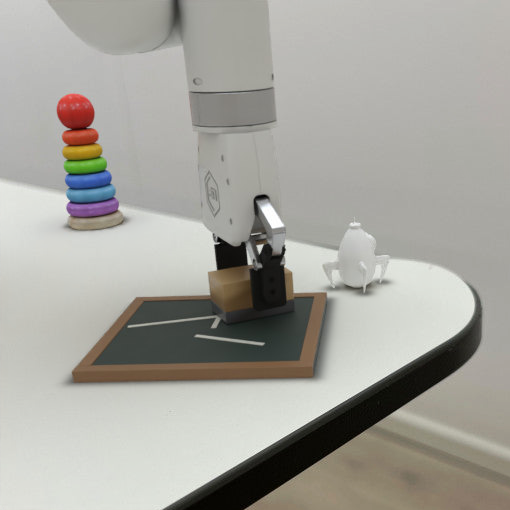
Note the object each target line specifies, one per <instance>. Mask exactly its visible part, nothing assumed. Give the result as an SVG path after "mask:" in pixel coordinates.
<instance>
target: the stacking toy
mask: <svg viewBox="0 0 510 510" xmlns="http://www.w3.org/2000/svg"><path fill="white" fill-rule="evenodd" d="M95 114H96V113H95V107H94V105H93V103H92V102H91V100H90V99H88V97H86V96H85V95H82V94H79V93H68V94H65V95H64V96H62V97H61V98H60V99H59V101H58V102H57V105H56V115H57V118H58V120H59V123H61V125H62V126H63V127H65V128H66V129H67V130H64V131H63V132H62V134H61V139H62V142H63V143H64V144H65V146H64V147H63V148H62V150H61V153H62V157H64V159H66V160H65V161H64V162H63V169H64V171H65V172H66V173H67V174H66V175H65V177H64V182H65V185H66V186H67V189H66V191H65V195H66V199H68V202H67V203H66V205H65V206H66V207H65V210H66V212H67V213H68V214H69V216H68V217H67V225H68V226H69V227H70V228H71V229H73V230H77V231H78V230H79V231H93V230H94V231H95V230H102V229H107V228H111V227H115V226H118V225H120V224H121V223H122V222H123V221H124V214H123V212H122V211H121V210H120V209H119V207H120V201H119V199H118V198H116V197H115V196H116V193H117V191H116V187H115V185H114V184H112V180H113V176H112V173H111V172H110V171H109V170H107V167H108V162H107V160H106V158H105V157H103V156H102V155H103V147H102V146H101V145H100V143H98V141H99V137H100V136H99V134H100V133H99V132H98V130H96V129H95V128H92V127H91V126H92V125H93V122H94V120H95Z"/></svg>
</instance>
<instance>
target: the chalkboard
mask: <svg viewBox="0 0 510 510" xmlns="http://www.w3.org/2000/svg"><path fill="white" fill-rule="evenodd" d="M294 305H295V311H291V312H286V313H281V314H276V315H272V316H267V317H262V318H257V319H252V320H247V321H242V322H237V323H232V324H226V323H225V322H224V321H223V320H222V319H221V318H219V317H218V316H217V315H216V314H215V313H214V312H213V311H212V306H211V297H210V294H204V295H203V294H201V295H168V296H167V295H165V296H164V295H161V296H160V295H159V296H136V297H135V298H134V299H133V300H132V302H131V303H130V304H129V305H128V306H127V308H125V310H123V312H122V313H121V314H120V316H119V317H118V318H117V319H116V320H115V321H114V322H113V324H112V325H111V326H110V327H109V328H108V329H107V331H106V332H104V334H103V335H102V336H101V337H100V338H99V340H98V341H97V342H96V343H95V344H94V345H93V347H92V348H91V349H90V350H89V351H88V353H87V354H86V355H85V356H84V357H83V358H82V360H80V362H79V363H78V364H77V365H76V366H75V367H74V368H73V369H72V371H71V376H72V380H73V383H113V382H114V383H117V382H118V383H119V382H120V383H121V382H122V383H123V382H161V381H162V382H163V381H167V382H168V381H206V380H207V381H209V380H210V381H212V380H214V381H215V380H256V379H257V380H258V379H260V380H261V379H303V378H305V379H306V378H307V379H308V378H309V379H310V378H314V375H315V370H316V365H317V358H318V354H319V348H320V344H321V338H322V333H323V328H324V327H323V326H324V322H325V317H326V311H327V305H328V292H327V291H325V292H324V291H323V292H321V291H319V292H294Z"/></svg>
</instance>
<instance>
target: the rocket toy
mask: <svg viewBox="0 0 510 510" xmlns="http://www.w3.org/2000/svg"><path fill="white" fill-rule="evenodd" d="M353 221H354V222H350V223H349V225H348V227H349V228H348V229H347V231H346V232H345V233H344V235H343V236H342V239H341V241H340V244H339V246H338V251H337V259H335V260H332V261H325V262H323V263H322V269H323V271H324V273H325V276H326V277H327V280H328V281H329V283H330V285H331V287H332V289H336V286H335V282H334V279H333V271H336V270H337V271H338V274H339V277H340V279H341V281H342V282H343V283H344V284H345V285H346V286H349V287H351V288H354V289H359V288H362V289H363V290H362V291H363V294H365V293H366V288H367V285H369V284H371V283H372V281H373V279H374V276H375V274H376V267H377V265H380V267H381V271H380V278H379V283H380V284H381V283H382V281H383V279H384V277H385V275H386V271H387V269H388V266H389V263H390V260H391V256H390V255H388V254H383V255H376V254H375V250H376V247H377V241H376V239H375V237H374V236H373V235H371V234H369V233H368V232H366V231H365V230H364V229H363V228H362V224H361V223H360V222H356V216H354V217H353Z"/></svg>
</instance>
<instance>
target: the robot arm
mask: <svg viewBox="0 0 510 510" xmlns="http://www.w3.org/2000/svg"><path fill="white" fill-rule="evenodd" d="M45 1H46V3H48V5H49V6H50V7H51V9H52V10H53V11H54V12H55V14H56V15H57V16H58V17H59V19H60V20H61V21H62V22H63V23H64V25H65V26H66V27H67V28H68V29H69V30H70V31H71V32H72V33H73V34H74V35H75V37H78V39H79V40H81V41H82V42H83V43H85V45H87V46H89V47H90V48H92V49H94V50H96V51H98V52H100V53H103V54H106V55H111V56H129V55H134V54H146V53H151V52H155V51H161V50H165V49H171V48H176V47H182V50H183V57H184V66H185V74H186V83H187V90H188V99H189V100H188V101H189V108H190V117H191V124H192V131H193V132H196V133H197V169H198V170H197V171H198V183H199V184H198V185H199V197H200V210H201V218H202V219H201V220H202V224H203V226H204V227H205V229H206V230H208V231H209V232H211V233H212V234H211V235H212V240H213V242H214V244H213V247H214V248H213V249H214V256H215V257H214V258H215V266H216V271H217V270H222V269H228V268H234V267H240V266H246V265H249V260H248V256H249V258H250V262H251V265H253V268H251V269H249V272H250V283H251V293H252V304H253V308H254V309H255V310H256V311H262V310H267V309H272V308H277V307H281V306H285V305H286V303H287V297H286V284H285V271H284V267H285V266H286V256H285V255H286V252H287V248H286V243H285V242H286V235H287V229H286V225H285V223H284V219H283V204H282V203H283V202H282V192H281V184H280V175H279V169H278V168H279V167H278V160H277V154H276V148H275V142H274V137H273V130H272V129H274V128H276V127H278V119H277V105H276V92H275V78H274V66H273V65H274V64H273V52H272V51H273V50H272V38H271V24H270V21H271V20H270V9H269V0H45ZM258 246H262V247H261V250H260V251H259V248H258Z"/></svg>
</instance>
